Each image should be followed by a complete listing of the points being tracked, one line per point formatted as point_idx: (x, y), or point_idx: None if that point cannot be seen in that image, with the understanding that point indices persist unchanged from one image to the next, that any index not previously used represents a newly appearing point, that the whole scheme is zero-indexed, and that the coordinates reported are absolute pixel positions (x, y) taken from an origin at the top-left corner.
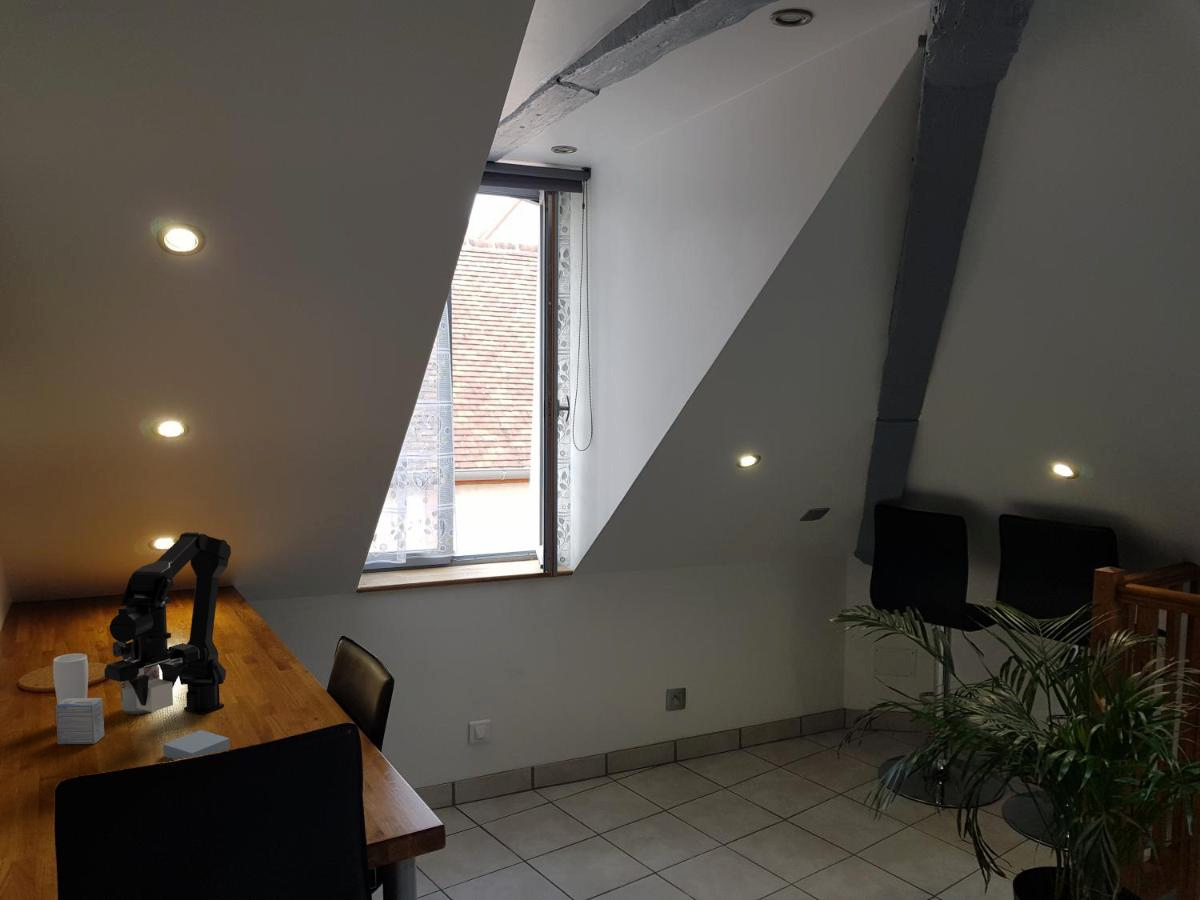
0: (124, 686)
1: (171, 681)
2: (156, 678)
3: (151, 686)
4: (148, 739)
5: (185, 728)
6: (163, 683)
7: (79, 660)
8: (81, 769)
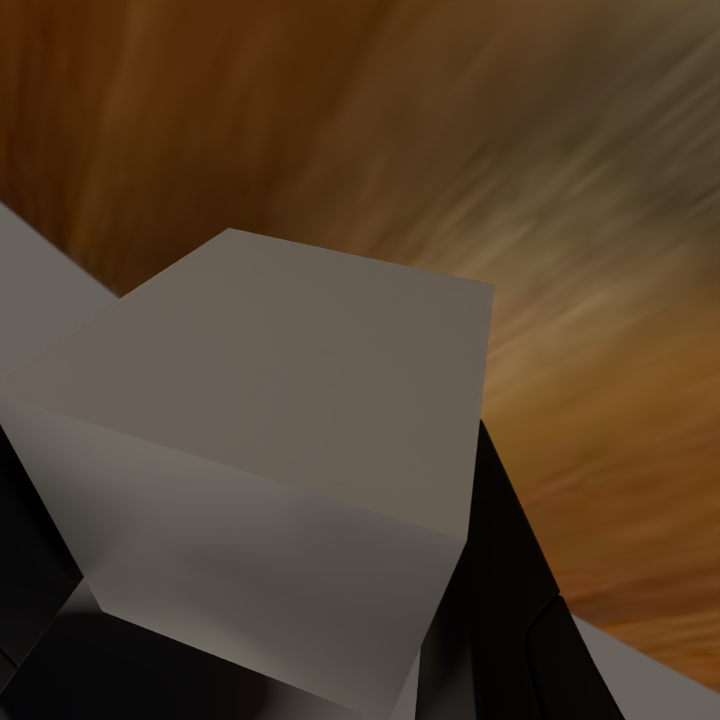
0: None
1: (416, 709)
2: (442, 536)
3: (137, 596)
4: (419, 164)
5: (674, 256)
6: (291, 668)
7: None
8: (15, 160)
